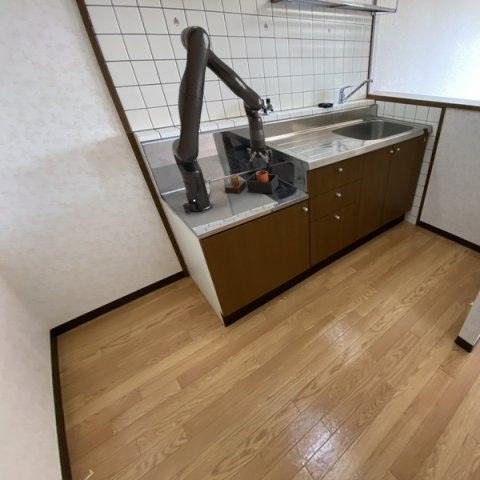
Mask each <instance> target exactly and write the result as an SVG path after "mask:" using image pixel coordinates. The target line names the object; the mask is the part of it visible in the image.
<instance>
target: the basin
mask: <svg viewBox="0 0 480 480" xmlns="http://www.w3.org/2000/svg"><path fill="white" fill-rule="evenodd" d="M268 180H269V182H258V181H257V178H256V172H254V173H253V174H252V175H251V176H250V177H249V178H248V179H247V180H245V181H246V185H247V186H246V187H247V192H248V193H256V194H267V195H268V194H270V195H272V194H274V192H275V191H276V189H277V188H278V187H279V185H280V184H279V176H278V174H271V173H268Z"/></svg>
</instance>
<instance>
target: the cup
mask: <svg viewBox="0 0 480 480" xmlns="http://www.w3.org/2000/svg"><path fill="white" fill-rule="evenodd" d="M255 173H256V178H257V181H258V182H269V180H268V174H269V173H268V170H258V171H256V172H255Z"/></svg>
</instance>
